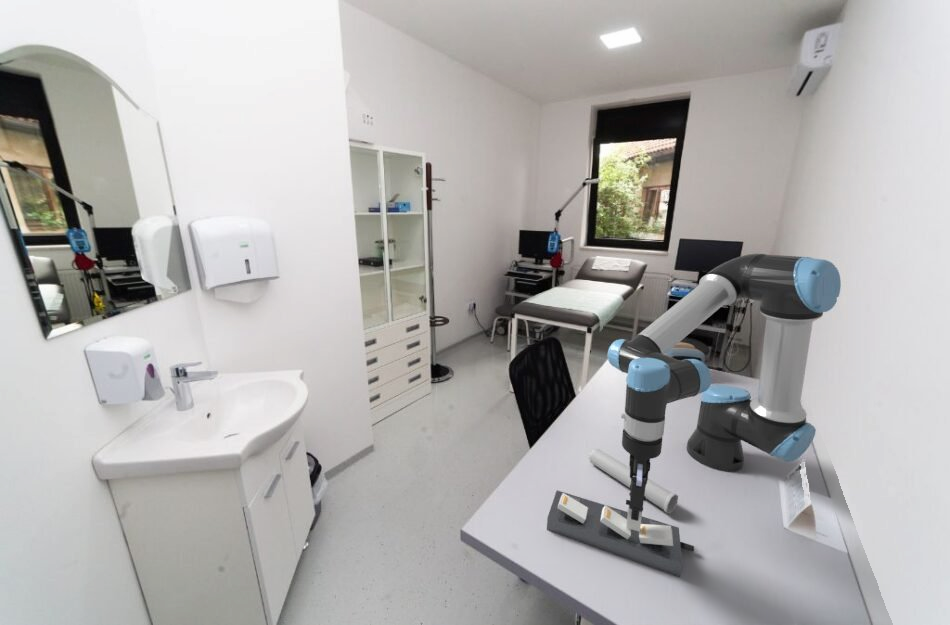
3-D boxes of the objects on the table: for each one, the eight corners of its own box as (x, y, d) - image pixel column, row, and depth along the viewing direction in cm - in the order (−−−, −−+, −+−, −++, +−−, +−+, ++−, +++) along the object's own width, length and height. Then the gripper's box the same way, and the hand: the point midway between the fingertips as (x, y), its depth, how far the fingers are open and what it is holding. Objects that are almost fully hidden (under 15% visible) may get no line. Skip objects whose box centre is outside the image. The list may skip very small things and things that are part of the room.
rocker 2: (628, 526, 84) (631, 521, 83) (627, 539, 80) (631, 535, 80) (602, 509, 86) (605, 504, 85) (600, 521, 82) (603, 516, 81)
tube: (598, 445, 113) (680, 492, 93) (593, 461, 114) (674, 512, 93) (588, 445, 110) (670, 495, 90) (583, 462, 110) (664, 515, 90)
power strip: (691, 544, 83) (694, 530, 82) (696, 583, 74) (699, 567, 73) (555, 501, 96) (556, 488, 95) (546, 529, 87) (547, 515, 86)
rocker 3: (672, 531, 80) (670, 525, 80) (673, 545, 76) (671, 539, 76) (640, 529, 83) (639, 523, 83) (640, 542, 79) (638, 536, 79)
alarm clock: (664, 380, 169) (669, 348, 165) (654, 367, 184) (658, 337, 180) (703, 383, 166) (709, 350, 162) (689, 369, 182) (694, 339, 178)
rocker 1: (585, 511, 88) (588, 507, 87) (583, 523, 84) (585, 519, 83) (560, 496, 90) (563, 492, 89) (557, 508, 86) (559, 503, 85)
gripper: (624, 414, 83) (617, 502, 88) (621, 445, 71) (613, 544, 77) (661, 420, 80) (651, 511, 85) (664, 454, 68) (652, 557, 74)
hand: (633, 527), depth 81 cm, fingers closed, pressing on rocker 2
